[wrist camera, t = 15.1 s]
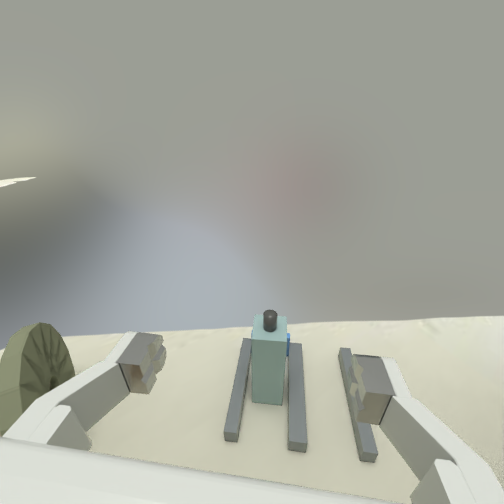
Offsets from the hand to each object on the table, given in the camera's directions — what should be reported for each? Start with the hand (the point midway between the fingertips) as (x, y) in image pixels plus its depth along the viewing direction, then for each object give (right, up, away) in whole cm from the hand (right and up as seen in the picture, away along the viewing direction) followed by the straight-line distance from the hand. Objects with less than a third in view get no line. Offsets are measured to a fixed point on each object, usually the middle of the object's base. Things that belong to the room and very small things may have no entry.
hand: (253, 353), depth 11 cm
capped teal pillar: (+2, -15, +25) cm, 29 cm away
